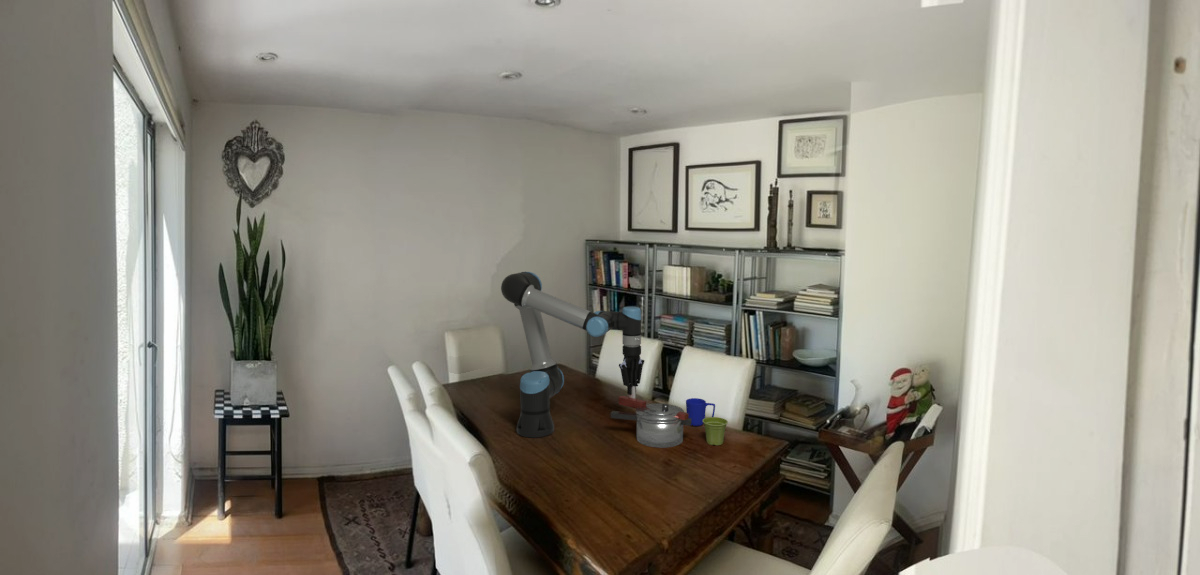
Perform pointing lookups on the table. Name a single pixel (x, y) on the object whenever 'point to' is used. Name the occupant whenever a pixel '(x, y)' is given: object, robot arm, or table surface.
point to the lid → (654, 410)
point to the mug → (697, 410)
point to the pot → (656, 430)
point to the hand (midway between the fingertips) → (631, 401)
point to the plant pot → (715, 430)
